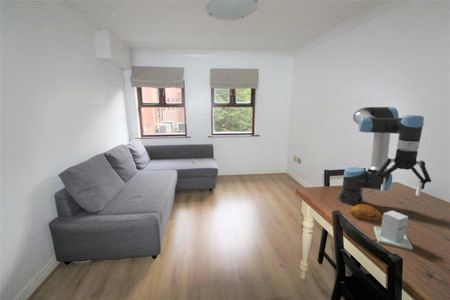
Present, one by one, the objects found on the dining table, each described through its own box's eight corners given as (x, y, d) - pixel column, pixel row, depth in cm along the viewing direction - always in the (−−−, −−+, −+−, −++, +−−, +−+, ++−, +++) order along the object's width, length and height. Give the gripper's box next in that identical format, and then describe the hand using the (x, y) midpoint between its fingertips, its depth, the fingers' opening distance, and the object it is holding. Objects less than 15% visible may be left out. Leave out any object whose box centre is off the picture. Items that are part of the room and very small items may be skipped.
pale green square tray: (373, 228, 117) (373, 226, 116) (403, 234, 111) (404, 232, 111) (378, 242, 105) (378, 240, 105) (412, 250, 100) (412, 247, 99)
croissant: (379, 228, 121) (384, 216, 119) (349, 217, 128) (352, 206, 126) (377, 216, 133) (381, 205, 131) (349, 207, 140) (353, 196, 138)
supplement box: (395, 243, 103) (399, 219, 101) (379, 235, 110) (382, 212, 107) (404, 239, 106) (408, 216, 103) (388, 231, 113) (392, 209, 110)
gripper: (376, 148, 101) (369, 191, 105) (447, 153, 90) (437, 200, 95) (373, 145, 107) (367, 185, 112) (439, 150, 97) (430, 194, 101)
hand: (399, 192), depth 103 cm, fingers open, 13 cm apart
